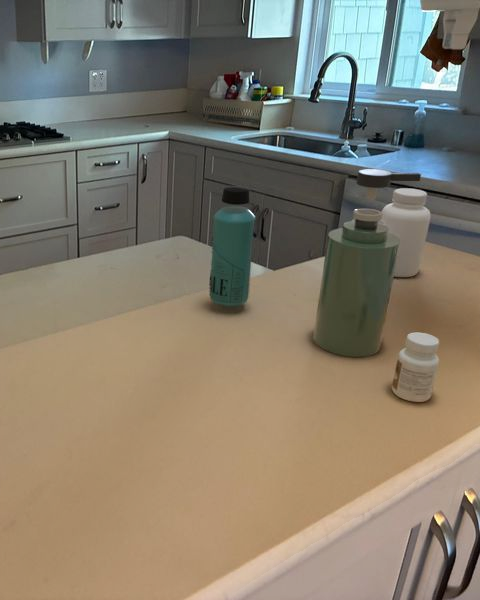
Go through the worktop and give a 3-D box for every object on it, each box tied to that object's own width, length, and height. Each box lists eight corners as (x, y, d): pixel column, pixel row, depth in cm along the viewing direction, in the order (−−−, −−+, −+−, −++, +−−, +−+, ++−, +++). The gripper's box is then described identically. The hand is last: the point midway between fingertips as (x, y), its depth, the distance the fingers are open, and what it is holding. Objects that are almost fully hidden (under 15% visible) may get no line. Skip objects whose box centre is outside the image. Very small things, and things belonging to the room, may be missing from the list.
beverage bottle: (252, 303, 103) (264, 184, 95) (240, 318, 97) (251, 194, 89) (215, 296, 106) (223, 180, 98) (201, 310, 100) (208, 190, 92)
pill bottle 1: (416, 281, 110) (433, 199, 103) (367, 273, 113) (381, 193, 107) (420, 267, 116) (437, 188, 110) (374, 260, 120) (388, 184, 113)
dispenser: (369, 329, 93) (392, 203, 85) (388, 358, 85) (416, 222, 77) (307, 327, 94) (325, 202, 86) (320, 355, 86) (341, 221, 78)
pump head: (409, 196, 82) (414, 169, 81) (420, 204, 78) (426, 175, 77) (350, 195, 83) (354, 168, 82) (358, 203, 79) (363, 175, 78)
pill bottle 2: (397, 380, 80) (409, 326, 76) (435, 392, 77) (448, 337, 74) (385, 394, 77) (397, 339, 74) (424, 407, 74) (437, 350, 71)
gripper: (555, -90, 65) (520, 51, 71) (470, -64, 84) (447, 46, 89) (490, -87, 66) (461, 52, 71) (420, -62, 84) (401, 47, 90)
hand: (453, 49), depth 80 cm, fingers closed
